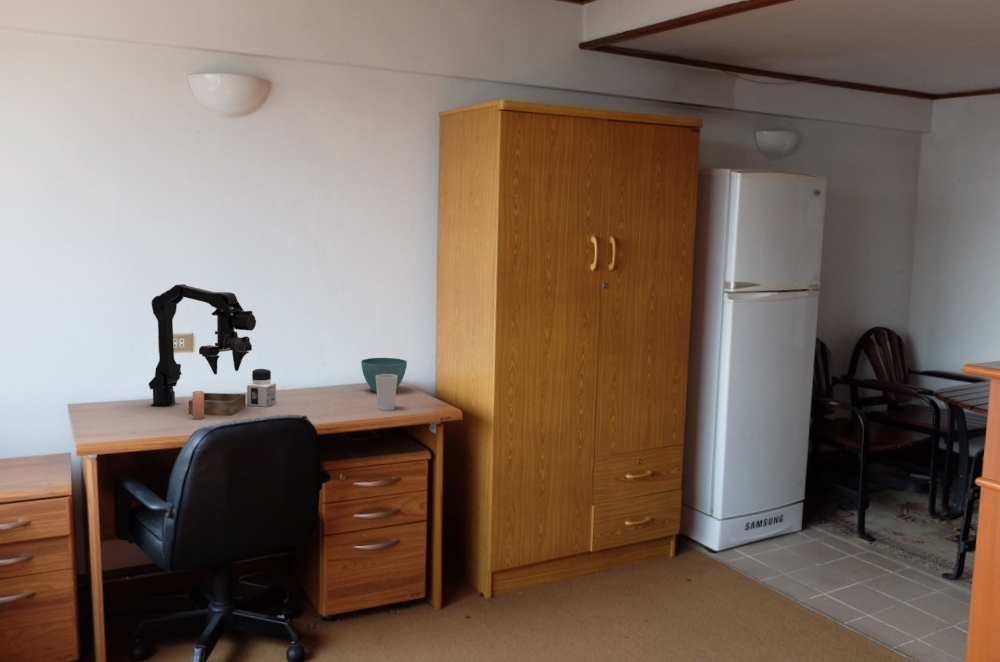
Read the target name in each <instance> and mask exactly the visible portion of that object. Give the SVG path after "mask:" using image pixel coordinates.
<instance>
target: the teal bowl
mask: <svg viewBox="0 0 1000 662" xmlns="http://www.w3.org/2000/svg"><path fill="white" fill-rule="evenodd" d="M407 364H408V361H407V360H405V359H402V358H396V357H373V358H372V357H370V358H365V359H362V360H361V362H360V365H361V370H362V374H363V377H364V379H365V382H366V383H367V385H368V386H369V388H370V389H371V390H372V391H373V392H375V393H377V389H376V375H380V374H393V375H397V376H398V377H397V387H396V389H397V388H398V387H399V385H400V384H401V383H402V381H403V379H404V377H405V373H406V371H407V366H408V365H407Z"/></svg>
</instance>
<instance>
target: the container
mask: <svg viewBox="0 0 1000 662" xmlns="http://www.w3.org/2000/svg"><path fill="white" fill-rule="evenodd" d="M251 372H252V373H251V378H252V379H251V381H252V383H249V384H247V385H246V391H247V392H246V393H247V394H246V399H247V400H246V402H247V403H246V406H249V407H250V406H252V407H253V406H254V407H265V408H267V407H268V406H269V407H270V406H271V405H274V404H275V403H276V402H277V395H276V394H277V383H276V382H273V381H272V377H271V376H272V374H271V373H272V371H271V370H270V369H268V368H255V369H254V370H252V371H251Z"/></svg>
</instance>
